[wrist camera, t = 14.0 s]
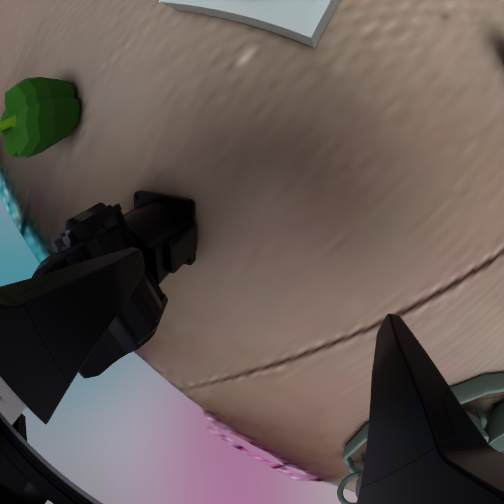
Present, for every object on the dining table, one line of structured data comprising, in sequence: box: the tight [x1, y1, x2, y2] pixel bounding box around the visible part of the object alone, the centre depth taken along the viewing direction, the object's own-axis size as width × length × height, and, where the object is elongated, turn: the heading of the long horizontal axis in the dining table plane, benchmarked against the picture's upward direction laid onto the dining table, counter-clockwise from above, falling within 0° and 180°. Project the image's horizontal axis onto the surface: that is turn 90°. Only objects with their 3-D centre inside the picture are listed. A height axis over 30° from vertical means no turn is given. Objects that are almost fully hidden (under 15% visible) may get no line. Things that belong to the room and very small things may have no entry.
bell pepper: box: [0, 77, 80, 158], centre depth 18 cm, size 8×8×10 cm
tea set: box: [337, 373, 504, 504], centre depth 24 cm, size 40×40×16 cm
